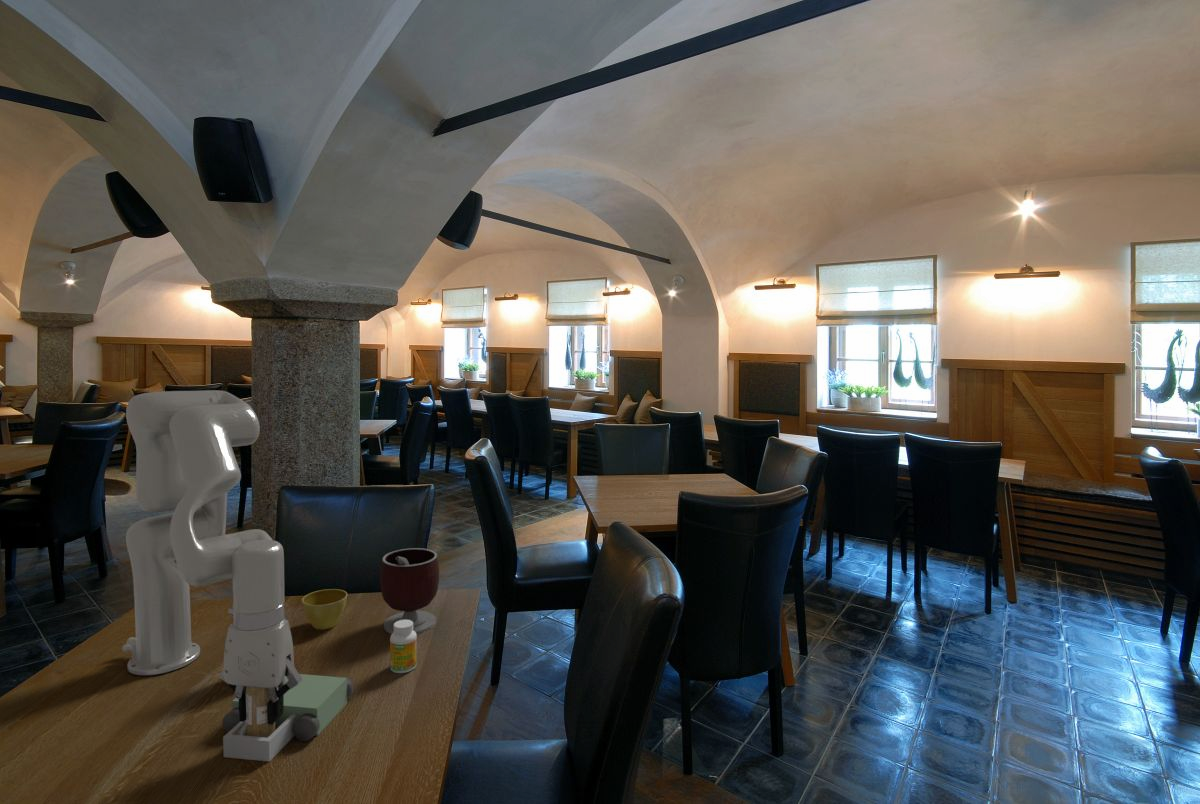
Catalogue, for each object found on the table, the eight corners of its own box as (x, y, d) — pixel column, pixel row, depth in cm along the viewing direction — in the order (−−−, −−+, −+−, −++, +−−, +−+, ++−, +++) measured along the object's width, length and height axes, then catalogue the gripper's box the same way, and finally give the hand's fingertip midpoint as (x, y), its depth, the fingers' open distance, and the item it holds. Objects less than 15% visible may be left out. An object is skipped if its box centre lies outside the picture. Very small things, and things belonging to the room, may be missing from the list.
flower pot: (333, 612, 154) (333, 585, 154) (355, 623, 148) (355, 595, 148) (294, 626, 146) (293, 597, 146) (316, 638, 140) (316, 609, 140)
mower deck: (198, 754, 100) (197, 725, 99) (272, 690, 119) (271, 666, 118) (295, 764, 98) (294, 735, 98) (354, 698, 117) (354, 673, 117)
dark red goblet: (393, 610, 156) (392, 535, 155) (445, 612, 156) (446, 537, 154) (368, 639, 141) (367, 555, 139) (426, 641, 140) (427, 558, 139)
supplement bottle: (390, 675, 125) (390, 630, 124) (389, 663, 130) (389, 619, 129) (417, 671, 127) (417, 627, 126) (415, 659, 132) (415, 616, 131)
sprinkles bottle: (271, 743, 101) (270, 666, 100) (241, 746, 100) (240, 669, 99) (279, 726, 106) (278, 653, 105) (251, 729, 105) (249, 655, 104)
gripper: (196, 621, 98) (199, 727, 100) (293, 629, 97) (294, 736, 98) (228, 602, 106) (231, 701, 107) (319, 609, 104) (320, 709, 106)
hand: (261, 717), depth 103 cm, fingers closed on sprinkles bottle, 4 cm apart
